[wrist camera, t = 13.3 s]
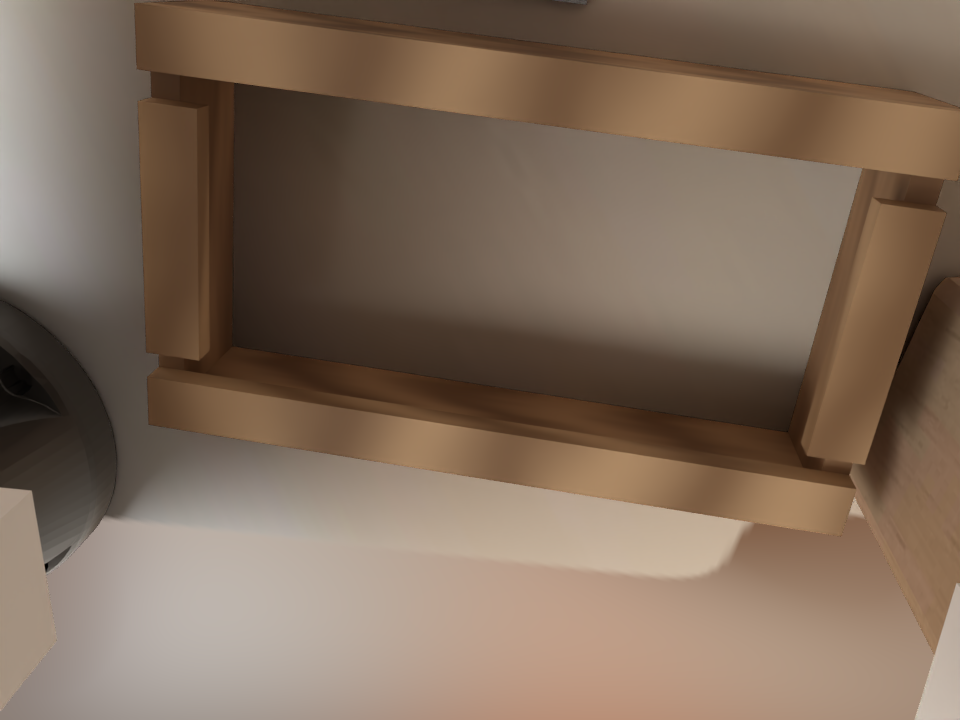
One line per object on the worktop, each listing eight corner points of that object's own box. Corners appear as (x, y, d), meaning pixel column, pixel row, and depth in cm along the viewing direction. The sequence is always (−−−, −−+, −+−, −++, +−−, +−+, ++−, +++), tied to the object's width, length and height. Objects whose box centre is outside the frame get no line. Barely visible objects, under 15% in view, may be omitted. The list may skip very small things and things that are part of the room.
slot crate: (210, 363, 40) (148, 424, 34) (209, -1, 34) (134, 3, 28) (805, 456, 38) (841, 536, 33) (913, 91, 32) (979, 114, 27)
